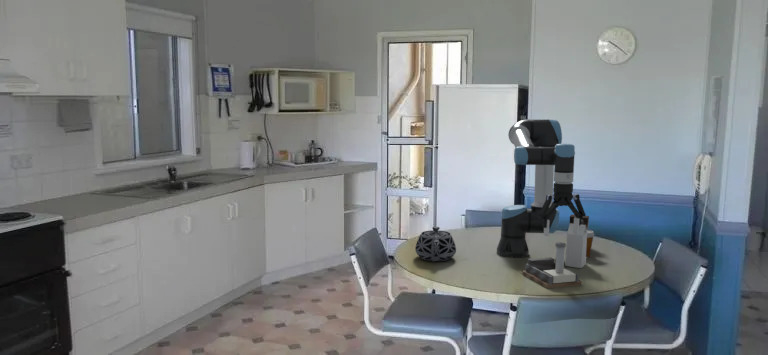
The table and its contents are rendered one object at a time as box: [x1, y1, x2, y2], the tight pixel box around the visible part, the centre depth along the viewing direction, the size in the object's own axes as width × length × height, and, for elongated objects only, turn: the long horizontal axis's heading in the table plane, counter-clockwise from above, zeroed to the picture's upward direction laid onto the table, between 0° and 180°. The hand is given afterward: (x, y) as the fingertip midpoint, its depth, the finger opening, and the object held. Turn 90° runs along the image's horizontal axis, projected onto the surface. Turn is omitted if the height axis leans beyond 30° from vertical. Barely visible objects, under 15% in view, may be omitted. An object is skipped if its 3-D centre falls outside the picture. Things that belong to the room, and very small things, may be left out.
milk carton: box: [565, 222, 587, 269], centre depth 282 cm, size 7×7×19 cm
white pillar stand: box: [543, 241, 576, 283], centre depth 255 cm, size 8×10×15 cm
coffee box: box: [568, 214, 590, 230], centre depth 315 cm, size 9×6×16 cm
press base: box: [521, 256, 583, 289], centre depth 261 cm, size 20×16×6 cm
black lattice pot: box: [414, 226, 457, 262], centre depth 294 cm, size 19×31×15 cm, turn 177°
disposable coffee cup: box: [586, 229, 595, 258], centre depth 299 cm, size 10×10×12 cm
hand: (561, 234), depth 253 cm, fingers open, 13 cm apart
